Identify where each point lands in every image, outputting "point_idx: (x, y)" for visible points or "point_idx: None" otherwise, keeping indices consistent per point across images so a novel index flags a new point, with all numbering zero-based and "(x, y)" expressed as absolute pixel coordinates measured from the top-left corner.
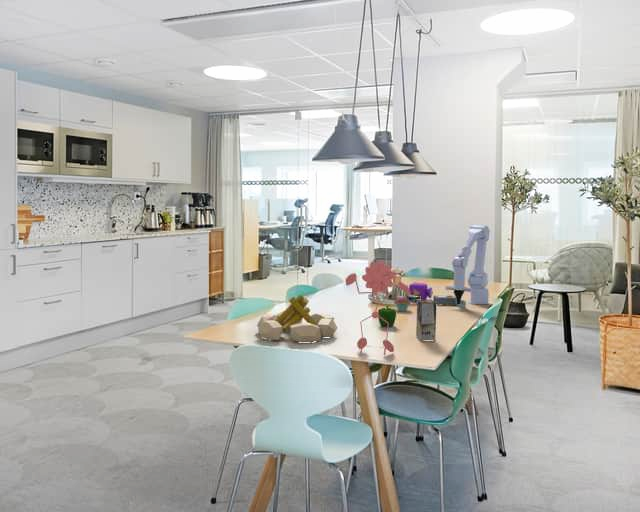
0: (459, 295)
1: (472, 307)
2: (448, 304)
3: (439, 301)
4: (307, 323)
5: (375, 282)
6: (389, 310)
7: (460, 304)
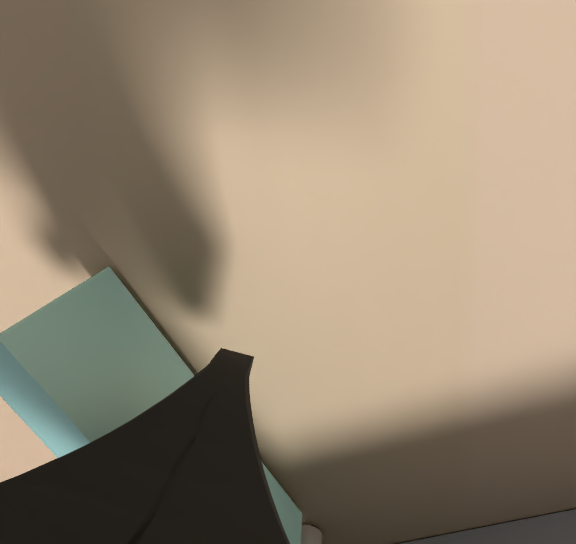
0: (34, 494)
1: (16, 430)
2: (455, 542)
3: None
4: None
5: None
6: None
7: None
